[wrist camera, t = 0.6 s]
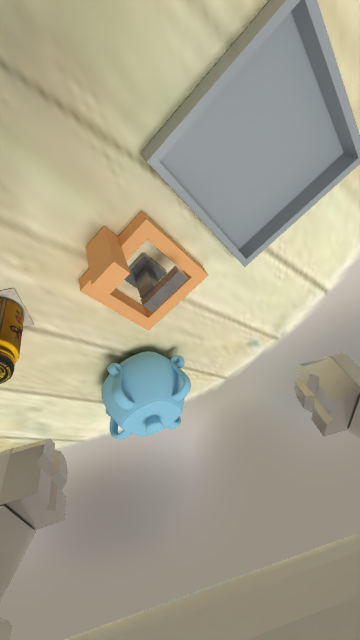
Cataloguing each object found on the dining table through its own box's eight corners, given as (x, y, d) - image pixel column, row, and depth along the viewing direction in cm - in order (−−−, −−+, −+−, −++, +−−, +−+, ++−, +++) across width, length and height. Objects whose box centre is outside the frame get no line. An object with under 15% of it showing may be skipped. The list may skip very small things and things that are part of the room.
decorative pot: (105, 342, 56) (115, 404, 46) (185, 342, 62) (209, 397, 52) (96, 398, 65) (102, 459, 55) (166, 393, 71) (183, 447, 61)
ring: (202, 265, 51) (225, 301, 43) (145, 319, 54) (158, 359, 47) (128, 198, 40) (143, 229, 33) (64, 270, 44) (65, 313, 37)
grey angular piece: (121, 274, 47) (130, 305, 41) (156, 238, 45) (171, 265, 39) (144, 290, 50) (155, 321, 45) (178, 257, 48) (194, 284, 42)
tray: (140, 153, 37) (146, 161, 34) (285, -19, 31) (308, -26, 28) (234, 255, 51) (244, 267, 48) (347, 151, 45) (366, 157, 42)
